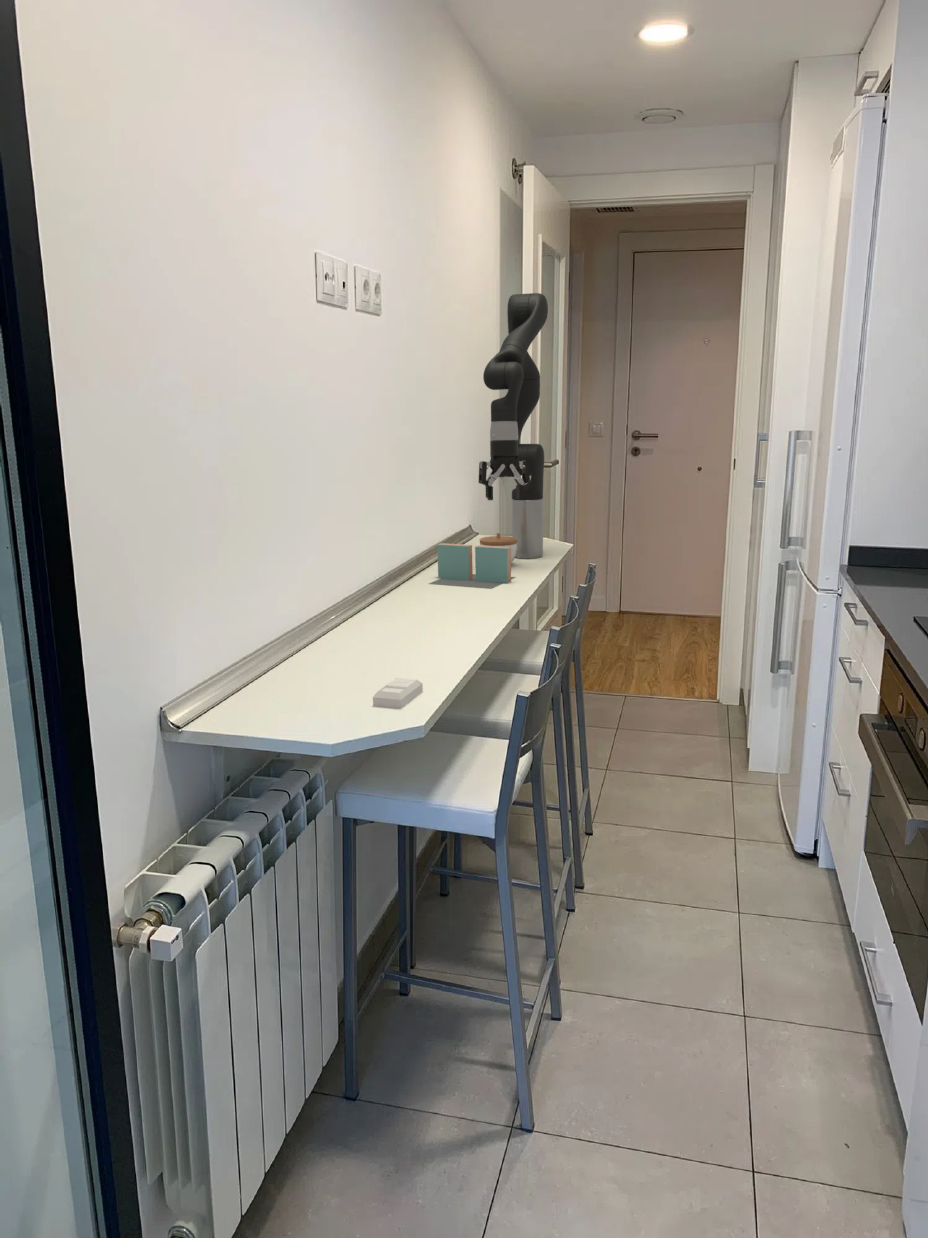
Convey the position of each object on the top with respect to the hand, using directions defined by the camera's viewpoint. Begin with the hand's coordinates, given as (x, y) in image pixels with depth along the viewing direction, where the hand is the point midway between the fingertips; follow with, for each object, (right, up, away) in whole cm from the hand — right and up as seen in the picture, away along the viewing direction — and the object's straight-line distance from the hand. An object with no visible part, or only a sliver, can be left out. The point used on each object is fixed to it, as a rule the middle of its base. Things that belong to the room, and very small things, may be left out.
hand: (504, 499), depth 256 cm
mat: (-9, -23, -9) cm, 26 cm away
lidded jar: (-1, -17, +13) cm, 22 cm away
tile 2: (-3, -23, -11) cm, 25 cm away
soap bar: (-22, -46, -101) cm, 113 cm away
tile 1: (-13, -22, -6) cm, 26 cm away
